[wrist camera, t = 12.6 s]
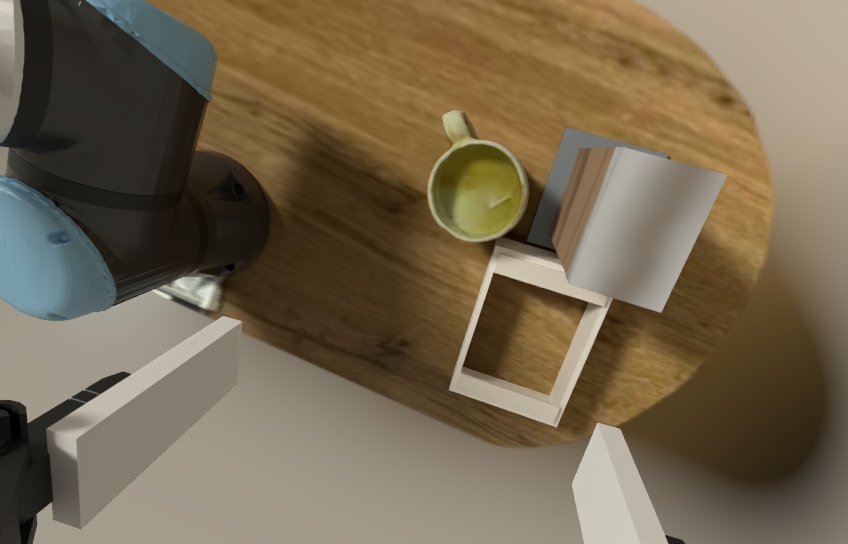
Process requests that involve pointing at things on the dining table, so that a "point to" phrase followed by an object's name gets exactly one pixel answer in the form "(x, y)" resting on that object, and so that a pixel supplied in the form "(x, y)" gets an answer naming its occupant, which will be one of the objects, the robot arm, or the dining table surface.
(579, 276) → the walnut box
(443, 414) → the dining table surface
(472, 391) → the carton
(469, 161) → the mug
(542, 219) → the mat
